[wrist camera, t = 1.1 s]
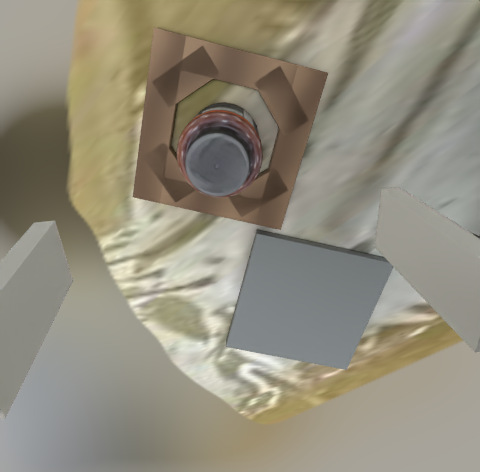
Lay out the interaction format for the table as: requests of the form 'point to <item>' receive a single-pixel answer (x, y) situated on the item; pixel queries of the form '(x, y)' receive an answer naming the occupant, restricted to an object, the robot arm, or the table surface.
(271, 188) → the socket board
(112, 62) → the table surface
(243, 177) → the supplement bottle
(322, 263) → the slate pad
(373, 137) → the table surface
